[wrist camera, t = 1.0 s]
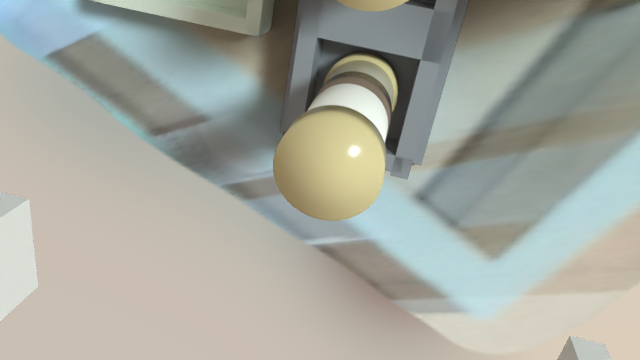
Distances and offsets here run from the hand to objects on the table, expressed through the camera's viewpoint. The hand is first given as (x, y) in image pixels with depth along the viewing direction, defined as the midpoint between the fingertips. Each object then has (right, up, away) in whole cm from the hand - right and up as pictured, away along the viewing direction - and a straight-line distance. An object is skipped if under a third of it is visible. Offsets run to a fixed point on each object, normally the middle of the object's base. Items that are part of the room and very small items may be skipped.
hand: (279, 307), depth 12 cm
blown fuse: (+3, +9, +18) cm, 20 cm away
